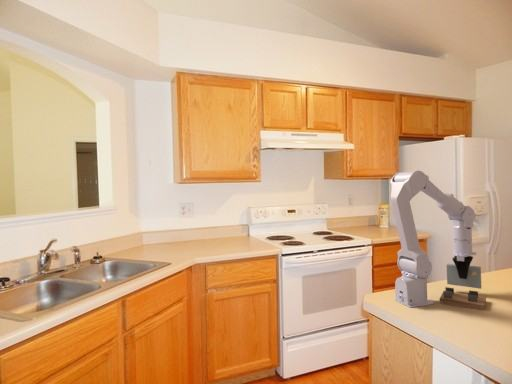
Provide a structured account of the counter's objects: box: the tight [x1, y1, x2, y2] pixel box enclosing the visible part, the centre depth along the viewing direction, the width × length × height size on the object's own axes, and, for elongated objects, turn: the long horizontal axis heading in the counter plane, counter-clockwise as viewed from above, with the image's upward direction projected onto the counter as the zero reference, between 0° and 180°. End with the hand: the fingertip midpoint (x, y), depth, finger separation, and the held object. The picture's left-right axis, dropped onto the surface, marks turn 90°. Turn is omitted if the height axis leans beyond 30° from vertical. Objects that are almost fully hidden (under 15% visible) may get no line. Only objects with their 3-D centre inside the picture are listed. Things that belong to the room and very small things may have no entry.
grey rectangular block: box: [446, 263, 482, 290], centre depth 112 cm, size 3×10×7 cm, turn 52°
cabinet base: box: [439, 291, 487, 311], centre depth 104 cm, size 9×12×2 cm
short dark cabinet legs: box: [442, 286, 479, 302], centre depth 104 cm, size 5×9×2 cm, turn 52°
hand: (463, 277), depth 112 cm, fingers closed on grey rectangular block, 2 cm apart
